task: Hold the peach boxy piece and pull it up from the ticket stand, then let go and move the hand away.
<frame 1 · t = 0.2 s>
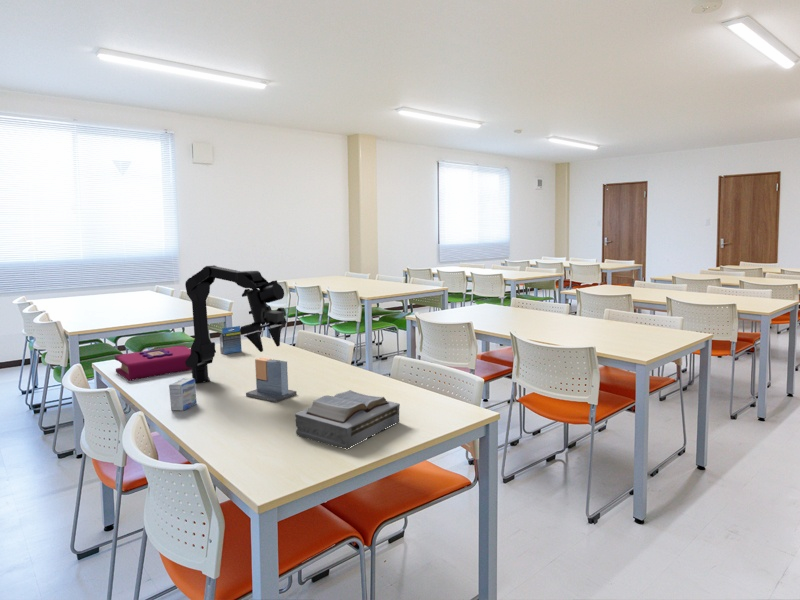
hand: (270, 348, 191), 15 cm above the table, tool tilted 15°, fingers open, 9 cm apart
medicine box: (184, 407, 177), on the table
bible: (349, 430, 156), on the table
peach boxy piece: (264, 369, 188), point 9 cm above the table, slide at 0.0 cm
book: (158, 371, 225), on the table
ticket stand: (265, 394, 189), on the table
label tape cartridge: (231, 352, 255), on the table
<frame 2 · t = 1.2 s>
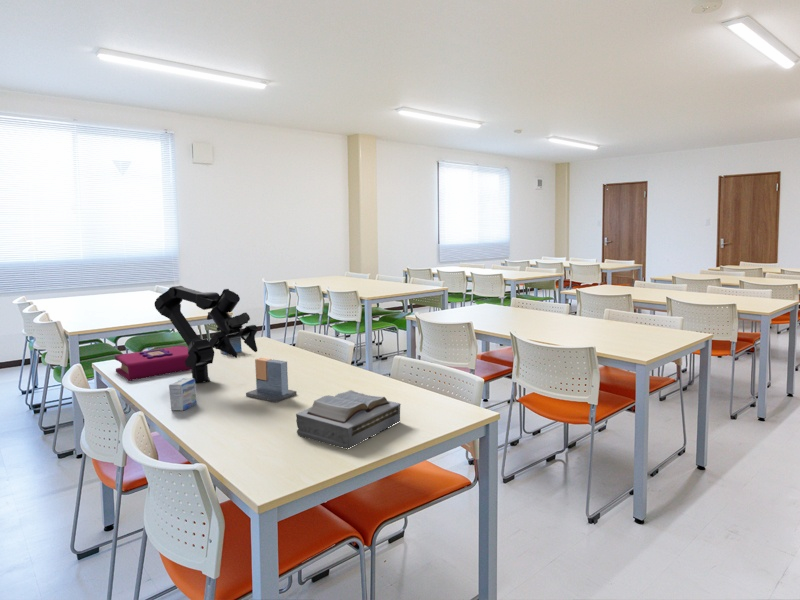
hand: (246, 354, 192), 13 cm above the table, tool tilted 45°, fingers open, 9 cm apart
nothing on the table moved.
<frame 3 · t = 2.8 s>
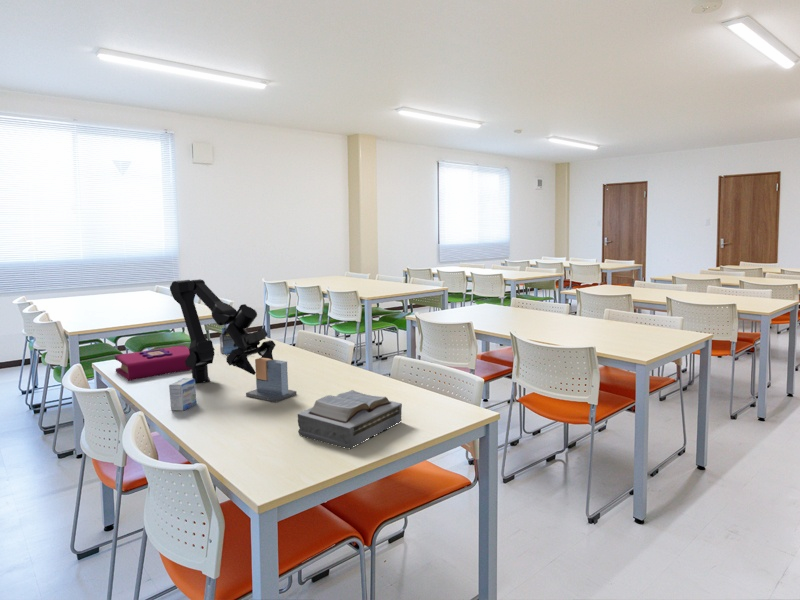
hand: (264, 370, 188), 8 cm above the table, tool tilted 45°, fingers open, 9 cm apart
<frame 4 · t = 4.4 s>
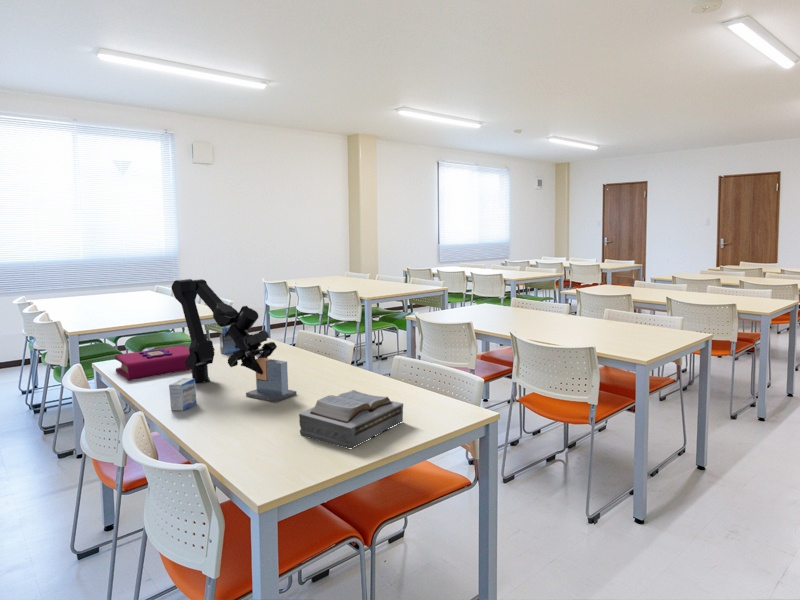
hand: (266, 372, 188), 8 cm above the table, tool tilted 45°, fingers closed on peach boxy piece, 3 cm apart
peach boxy piece: (264, 369, 188), point 9 cm above the table, slide at 0.0 cm, touching gripper
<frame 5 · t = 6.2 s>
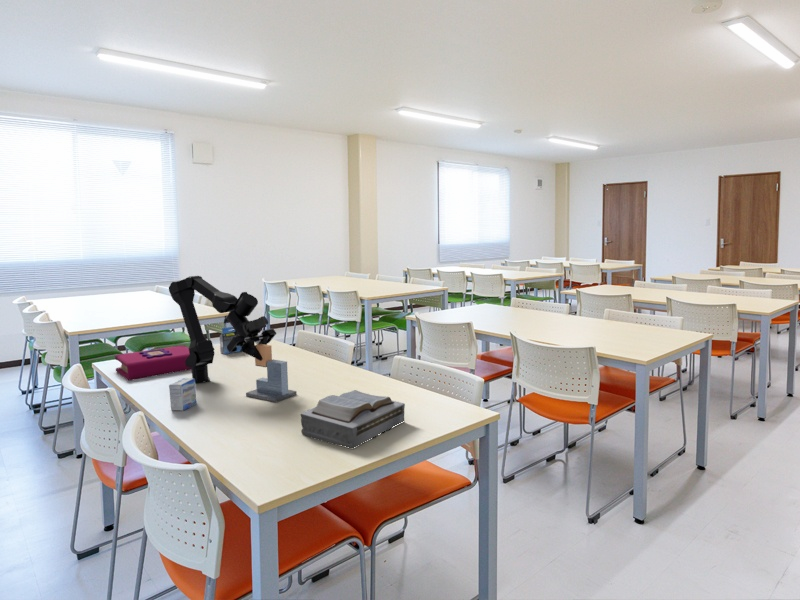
hand: (265, 358, 187), 13 cm above the table, tool tilted 45°, fingers closed on peach boxy piece, 3 cm apart
peach boxy piece: (263, 355, 188), point 14 cm above the table, slide at 4.9 cm, touching gripper
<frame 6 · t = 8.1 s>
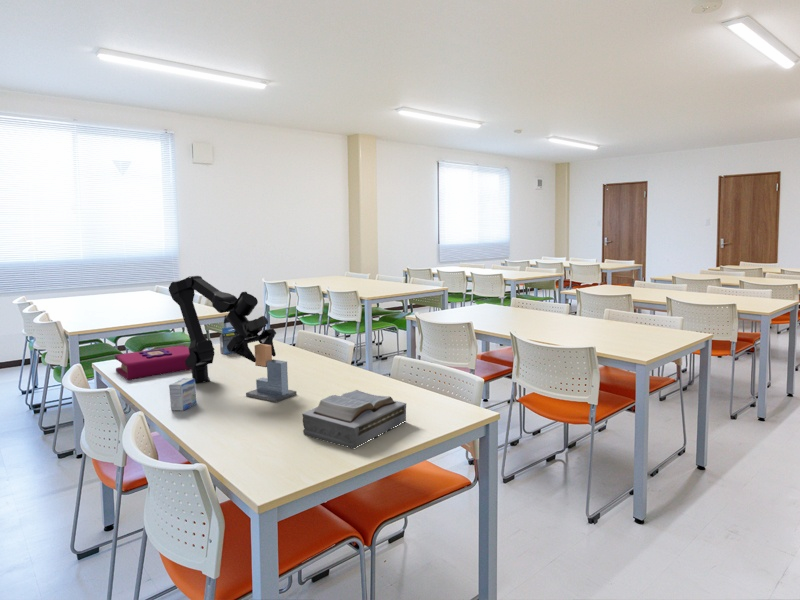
hand: (265, 358, 187), 13 cm above the table, tool tilted 45°, fingers open, 9 cm apart
peach boxy piece: (263, 355, 188), point 14 cm above the table, slide at 4.9 cm
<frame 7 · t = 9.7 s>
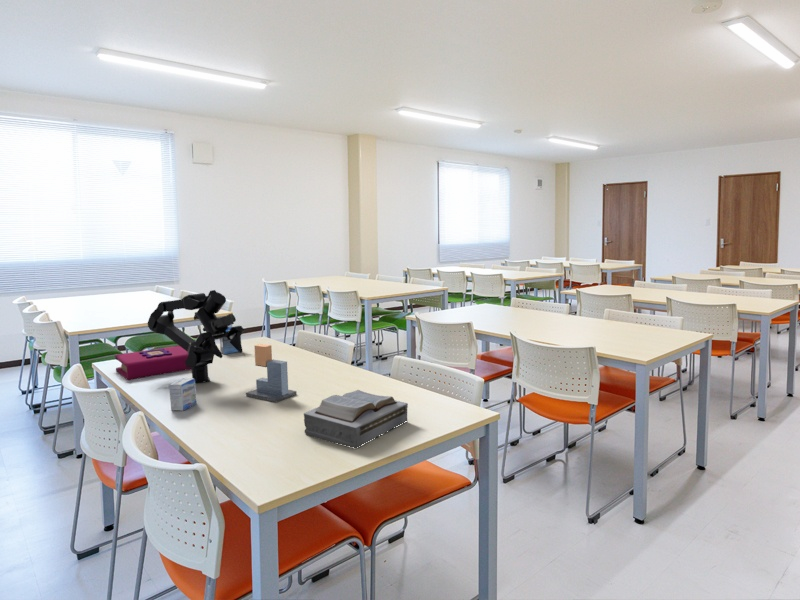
hand: (231, 354, 196), 12 cm above the table, tool tilted 45°, fingers open, 9 cm apart
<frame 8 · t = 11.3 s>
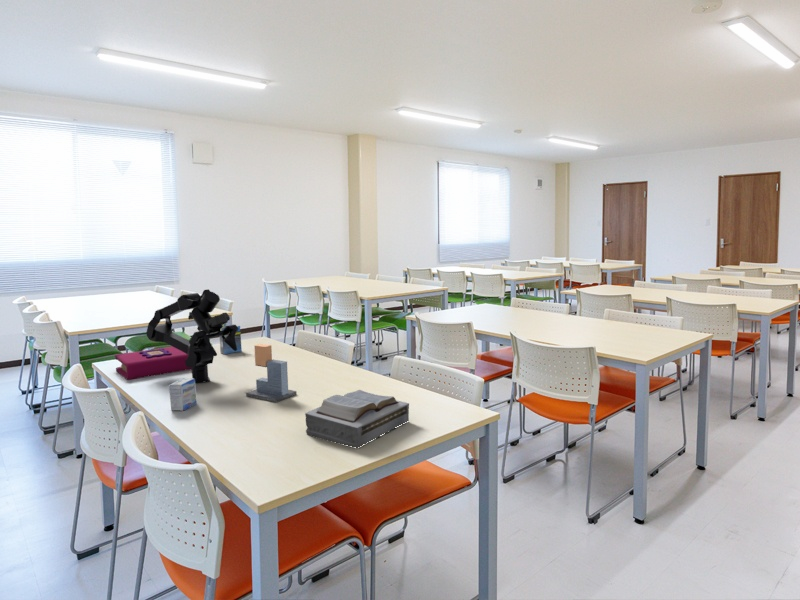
hand: (226, 352, 197), 13 cm above the table, tool tilted 45°, fingers open, 9 cm apart
at the end: peach boxy piece slide at 4.9 cm; the gripper is holding nothing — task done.
